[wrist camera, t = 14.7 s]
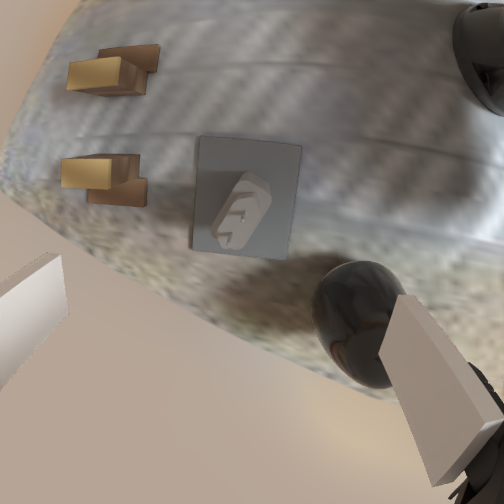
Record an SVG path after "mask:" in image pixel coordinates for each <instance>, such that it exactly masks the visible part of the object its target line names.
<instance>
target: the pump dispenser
mask: <svg viewBox="0 0 504 504" xmlns="http://www.w3.org/2000/svg"><path fill="white" fill-rule="evenodd" d="M398 295H407V294H406V292H405V290H404V288H403V286H402V284H401V283H400V281H399V280H398V278H397V277H396V276H395V275H394V274H393V273H392V272H391V271H390V270H389V269H388V268H386V267H385V266H383V265H381V264H379V263H376V262H371V261H351V262H347V263H344V264H341V265H339V266H337V267H335V268H334V269H332V270H331V271H330V272H329V273H328V274H327V275H326V276H325V277H324V278H323V279H322V281H321V282H320V284H319V285H318V287H317V288H316V290H315V292H314V294H313V297H312V301H311V306H310V315H311V320H312V324H313V328H314V330H315V333H316V335H317V337H318V339H319V341H320V343H321V345H322V346H323V348H324V350H325V351H326V353H327V354H328V355H329V357H330V358H331V359H332V360H333V362H334V363H335V364H336V365H337V366H338V367H339V368H340V369H341V370H342V371H343V372H344V373H345V374H347V375H348V376H349V377H350V378H352V379H353V380H354V381H356V382H357V383H359V384H361V385H363V386H366V387H368V388H372V389H387V388H391V387H393V386H392V383H391V381H390V379H389V376H388V374H387V372H386V370H385V367H384V365H383V363H382V361H381V359H380V356H379V354H378V353H379V351H380V348H381V345H382V342H383V340H384V337H385V334H386V331H387V328H388V325H389V322H390V319H391V316H392V313H393V310H394V307H395V304H396V300H397V297H398Z"/></svg>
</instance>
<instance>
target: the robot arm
mask: <svg viewBox="0 0 504 504" xmlns="http://www.w3.org/2000/svg"><path fill="white" fill-rule="evenodd" d="M453 44H454V50H455V55H456V58H457V61H458V64H459V67H460V69H461V72H462V74H463V76H464V78H465V80H466V82H467V83H468V85H469V87H470V88H471V90H472V91H473V92H474V94H475V95H476V96H477V98H478V99H479V100H480V101H481V102H482V103H483V104H484V105H485V106H486V107H487V108H489V109H490V110H491V111H493V112H495V113H496V114H498V115H501V116H504V4H501V3H479V4H475V5H473V6H471V7H469V8H467V9H465V10H463V11H462V12H461V13H460V14H459V15H458V17H457V19H456V21H455V24H454V29H453ZM68 315H69V310H68V304H67V298H66V291H65V284H64V277H63V269H62V261H61V255H60V254H53V253H45V254H44V255H42V256H40V257H39V258H37V259H36V260H34V261H33V262H31V263H29V264H28V265H26V266H25V267H23V268H22V269H20V270H19V271H17V272H16V273H15V274H13V275H11V276H10V277H9V278H7V279H5V280H4V281H3V282H1V283H0V390H1V389H2V388H3V387H4V385H5V384H6V383H7V382H8V381H9V380H10V378H11V377H12V376H13V375H14V374H15V373H16V372H17V370H18V369H19V368H20V367H21V366H22V365H23V364H24V362H25V361H26V360H27V359H28V358H29V357H30V356H31V355H32V354H33V352H34V351H35V350H36V349H37V348H38V347H39V346H40V345H41V344H42V343H43V341H44V340H45V339H46V338H47V337H48V336H49V335H50V334H51V333H52V332H53V331H54V330H55V329H56V328H57V327H58V325H59V324H60V323H61V322H62V321H63V320H64V319H65V318H66V317H67V316H68ZM378 354H379V356H380V359H381V361H382V363H383V365H384V367H385V370H386V372H387V374H388V376H389V379H390V381H391V383H392V386H393V388H394V390H395V393H396V395H397V397H398V400H399V402H400V405H401V407H402V409H403V412H404V414H405V417H406V419H407V422H408V424H409V426H410V429H411V431H412V434H413V437H414V439H415V441H416V444H417V447H418V449H419V452H420V455H421V457H422V460H423V463H424V465H425V468H426V471H427V474H428V477H429V479H430V482H431V485H432V487H435V486H439V485H443V484H447V483H451V482H453V481H454V480H455V479H456V478H457V477H458V476H459V475H460V474H461V473H462V472H463V471H465V473H466V475H467V478H466V479H465V481H464V482H463V483H462V484H461V485H460V486H459V487H458V488H457V489H456V490H455V491H454V492H453V493H452V494H451V495H450V496H449V498H448V499H450V500H451V499H452V498H453V497H454V496H455V495H456V494H457V493H458V496H457V498H456V500H455V503H454V504H504V403H503V402H502V400H501V399H500V397H499V396H498V394H497V393H496V392H494V389H493V387H492V386H491V385H490V384H488V380H487V379H486V378H485V376H484V375H483V373H482V372H481V371H480V370H479V369H477V368H476V367H475V366H474V365H472V364H471V363H470V362H467V361H466V360H465V358H464V357H463V356H462V354H461V353H460V352H459V350H458V349H457V348H456V346H455V345H454V344H453V342H452V341H451V340H450V339H449V337H448V336H447V335H446V333H445V332H444V331H443V330H442V328H441V327H440V326H439V325H438V323H437V322H436V321H435V319H434V318H433V317H432V316H431V315H430V313H429V312H428V311H427V310H426V308H425V307H424V306H423V305H422V303H421V302H420V301H419V300H418V299H417V297H416V296H411V295H398V297H397V300H396V304H395V307H394V310H393V313H392V316H391V319H390V322H389V325H388V328H387V331H386V334H385V337H384V340H383V342H382V345H381V348H380V351H379V353H378Z"/></svg>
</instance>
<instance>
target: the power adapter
mask: <svg viewBox="0 0 504 504" xmlns="http://www.w3.org/2000/svg"><path fill="white" fill-rule="evenodd" d="M271 202H272V198H271V190H270V185H269V183H268V182H267V181H266V180H264V179H263V178H261V177H259V176H258V175H256V174H254V173H253V172H245V173H244V174H243V175H242V176H241V178H240V179H239V181H238V182H237V184H236V186H235V187H234V189H233V191H232V192H231V194H230V195H229V197H228V199H227V200H226V202H225V204H224V206H223V207H222V209H221V211H220V212H219V214H218V216H217V217H216V219H215V221H214V222H213V224H212V226H211V229H210V233H211V235H212V237H213V238H214V239H216V240H218V241H219V242H220V245H221V247H222V248H223V249H228V248H231V249H234V250H239V249H242V248H243V247H244V246H245V244H246V243H247V241H248V240H249V238H250V237H251V235H252V233H253V232H254V230H255V229H256V227H257V226H258V224H259V222H260V221H261V219H262V218H263V216H264V215H265V213H266V212H267V210H268V208H269V207H270V205H271Z"/></svg>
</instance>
